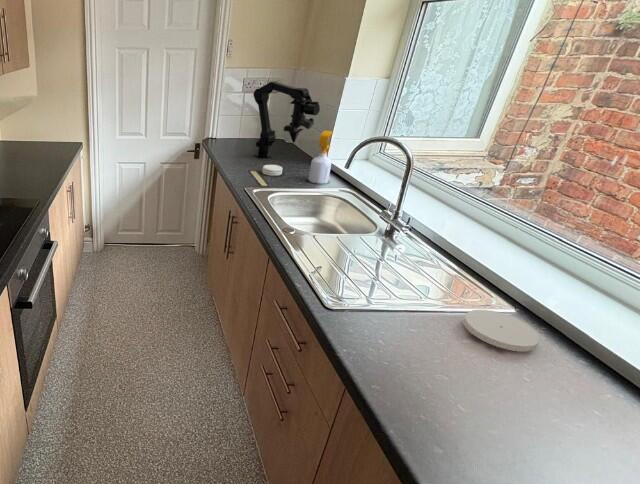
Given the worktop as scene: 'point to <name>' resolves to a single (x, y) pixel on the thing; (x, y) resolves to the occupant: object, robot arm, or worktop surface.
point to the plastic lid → (501, 330)
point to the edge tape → (258, 178)
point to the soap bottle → (321, 162)
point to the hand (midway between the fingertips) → (293, 142)
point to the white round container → (272, 170)
